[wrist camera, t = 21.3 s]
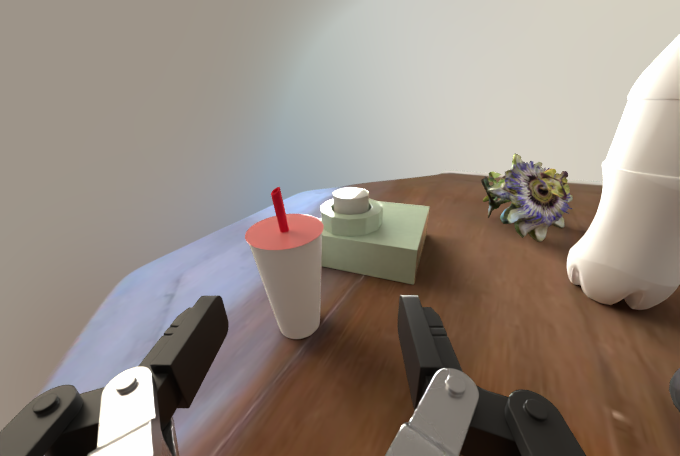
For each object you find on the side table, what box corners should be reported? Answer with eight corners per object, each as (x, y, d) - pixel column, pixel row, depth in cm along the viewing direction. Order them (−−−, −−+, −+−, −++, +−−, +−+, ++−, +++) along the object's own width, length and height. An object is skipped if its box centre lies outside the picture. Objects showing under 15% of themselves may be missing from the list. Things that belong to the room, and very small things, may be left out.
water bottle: (674, 297, 25) (915, -95, 14) (648, 332, 21) (941, -151, 11) (577, 262, 30) (697, -38, 19) (545, 285, 27) (668, -63, 16)
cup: (268, 357, 20) (231, 208, 15) (266, 308, 25) (238, 180, 19) (338, 340, 21) (327, 195, 16) (324, 295, 26) (312, 171, 21)
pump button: (327, 214, 30) (326, 196, 29) (341, 202, 34) (340, 186, 33) (362, 219, 29) (362, 200, 28) (372, 206, 32) (373, 189, 31)
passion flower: (524, 273, 37) (526, 225, 29) (462, 231, 45) (449, 183, 37) (586, 220, 38) (606, 156, 29) (514, 186, 45) (513, 128, 37)
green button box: (307, 263, 32) (302, 215, 29) (344, 222, 42) (343, 184, 39) (413, 284, 27) (419, 231, 25) (426, 233, 37) (431, 191, 35)
